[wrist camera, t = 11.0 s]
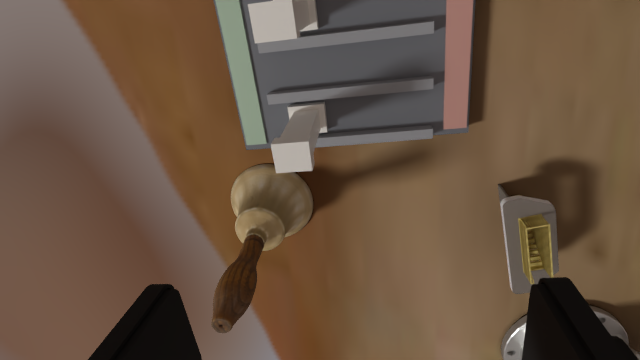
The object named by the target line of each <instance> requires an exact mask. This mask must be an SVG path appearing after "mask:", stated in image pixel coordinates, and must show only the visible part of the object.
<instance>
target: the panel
mask: <svg viewBox="0 0 640 360" xmlns="http://www.w3.org/2000/svg"><path fill="white" fill-rule="evenodd" d="M268 1H273V0H214V4H215V9H216V14H217V18H218V23H219V27H220V32H221V36H222V41H223V45H224V50H225V55H226V59H227V64H228V68H229V73H230V77H231V82H232V86H233V91H234V96H235V100H236V105H237V109H238V114H239V118H240V123H241V128H242V132H243V137H244V141H245V146H246V150H251V149H264V148H271V143H272V141H273V140H274V138H280V136H281V134H282V133H283V131H284V129H285V127H286V125H287V124H288V122H289V114H288V108H287V107H288V106H289V105H292V104H303V103H313V102H324V101H325V108H326V116H327V125H328V131H327V132H325V133H319V136H318V139H317V143H316V146H315V147H328V146H341V145H354V144H367V143H380V142H393V141H406V140H419V139H431V138H433V135H442V134H455V133H467V132H468V127H469V108H470V90H471V72H472V53H473V35H474V17H475V0H316V8H317V17H318V26H319V29H316V30H308V31H300V37H299V38H297V39H289V40H280V41H272V42H264V43H255V41H254V36H253V30H252V25H251V20H250V14H249V9H248V4H253V3H260V2H268Z"/></svg>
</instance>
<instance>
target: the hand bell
mask: <svg viewBox="0 0 640 360" xmlns="http://www.w3.org/2000/svg"><path fill="white" fill-rule="evenodd" d="M231 203H232V207H233V210H234V213H235V215H236V216H237V219H236V223H235V230H236V233H237V236H238V238H239V239H240V240H241V242H242V243H243V246H242V249H241V252H240V254H239V256H238V258H237V259H236V261H235V262H234V263H232V264H231V265H230V266H229V267H228V268H227V270H226V271H225V273H224V274H223V275H222V277H221V279H220V281H219V283H218V285H217V288H216V290H215V294H214V299H213V319H212V324H211V325H212V327H213V328H214V329H215V330H216V331H217V332H219V333H227V332H229V331H230V330H231V329H232V326H233V325H234V324H235V323H236V321H237V320H238V319H239V318H240V317H241V316H242V315H243V314H244V313H245V311H246V310H247V308H248V307H249V305H250V303H251V300H252V298H253V295H254V292H255V288H256V282H257V271H256V265H257V262H258V259H259V257H260V255H261V252H262V251H266V250H271V249H273V248H275V247H277V246H278V245H279V244H280V243H281V242H282V240H283V239H284V237H287V236H290V235H292V234H294V233H296V232H298V231H300V230H301V229H302V228H303V227H304V226H305V225H306V224H307V223H308V221H309V219H310V217H311V215H312V211H313V198H312V194H311V191H310V189H309V187H308V185H307V184H306V183H305V181H304V180H303V179H302V178H301V177H300V176H299V175H298V174H296V173H295V172H287V173H276V170H275V165H274V164H261V165H256V166H253V167H251V168H248V169H247V170H245V171H244V172H242V173H241V174H240V175H239V176H238V178H237V179H236V180H235V182H234V184H233V186H232V190H231Z"/></svg>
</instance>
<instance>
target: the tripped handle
mask: <svg viewBox="0 0 640 360" xmlns="http://www.w3.org/2000/svg"><path fill="white" fill-rule="evenodd" d="M248 9H249V14H250V20H251V25H252V30H253V36H254V41H255V43H264V42H272V41H280V40H289V39H297V38H299V37H300V31H308V30H316V29H319V26H318V17H317V8H316V0H273V1H268V2H260V3H253V4H248Z"/></svg>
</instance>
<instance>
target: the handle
mask: <svg viewBox="0 0 640 360" xmlns="http://www.w3.org/2000/svg"><path fill="white" fill-rule="evenodd" d="M287 108H288V114H289V122H288V124H287V125H286V127H285V129H284V131H283V133H282V134H281V136H280V138H274V140H273V141H272V143H271V149H272V154H273V159H274V165H275V170H276V173H287V172H302V171H313V167H314V156H313V153H314V149H315V146H316V143H317V139H318V136H319V133H325V132H327V131H328V125H327V116H326V108H325V101H324V102H313V103H303V104H292V105H289V106H288V107H287Z"/></svg>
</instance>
